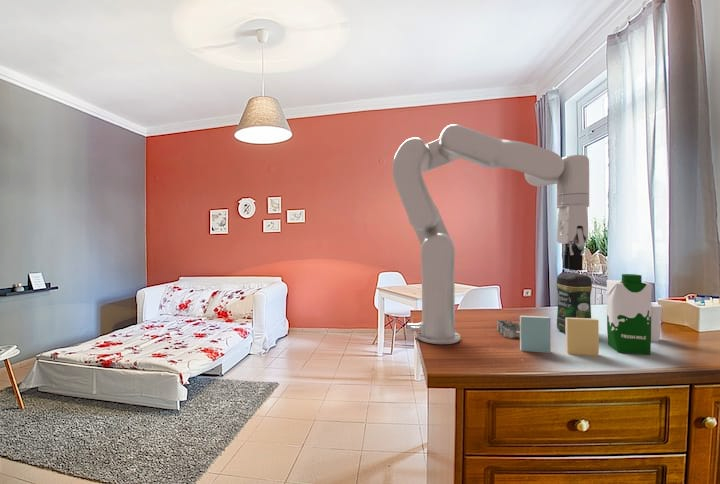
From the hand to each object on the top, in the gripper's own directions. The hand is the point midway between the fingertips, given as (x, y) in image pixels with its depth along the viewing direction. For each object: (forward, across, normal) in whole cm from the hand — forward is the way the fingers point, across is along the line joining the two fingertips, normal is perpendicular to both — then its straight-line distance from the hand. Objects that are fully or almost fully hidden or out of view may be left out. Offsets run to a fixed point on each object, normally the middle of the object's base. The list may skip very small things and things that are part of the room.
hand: (573, 268), depth 94 cm
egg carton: (+22, -10, -14) cm, 28 cm away
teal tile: (+21, +6, -11) cm, 25 cm away
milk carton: (+21, 0, +13) cm, 25 cm away
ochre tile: (+21, +6, 0) cm, 22 cm away
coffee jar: (+21, -15, +5) cm, 27 cm away
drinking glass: (+21, -12, +23) cm, 34 cm away
